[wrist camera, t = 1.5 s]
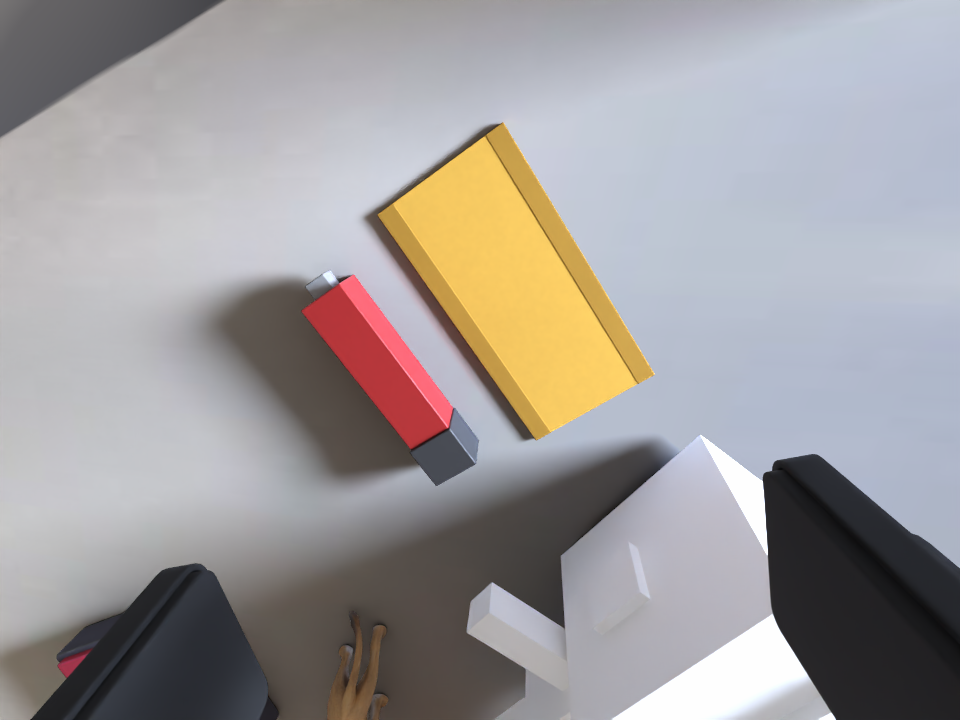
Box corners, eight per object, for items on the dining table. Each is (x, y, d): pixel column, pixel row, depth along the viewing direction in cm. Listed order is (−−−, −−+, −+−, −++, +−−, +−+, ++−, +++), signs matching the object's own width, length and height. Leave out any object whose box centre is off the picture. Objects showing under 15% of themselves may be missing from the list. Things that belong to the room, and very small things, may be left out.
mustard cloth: (503, 122, 29) (503, 122, 29) (653, 372, 33) (654, 374, 33) (378, 214, 31) (376, 215, 31) (535, 438, 35) (536, 440, 35)
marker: (345, 259, 32) (328, 268, 29) (479, 440, 36) (476, 464, 33) (306, 287, 33) (286, 298, 30) (442, 461, 36) (436, 487, 33)
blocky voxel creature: (409, 604, 43) (644, 373, 33) (628, 738, 48) (899, 570, 37) (352, 814, 30) (720, 535, 20) (665, 976, 34) (1106, 816, 24)
